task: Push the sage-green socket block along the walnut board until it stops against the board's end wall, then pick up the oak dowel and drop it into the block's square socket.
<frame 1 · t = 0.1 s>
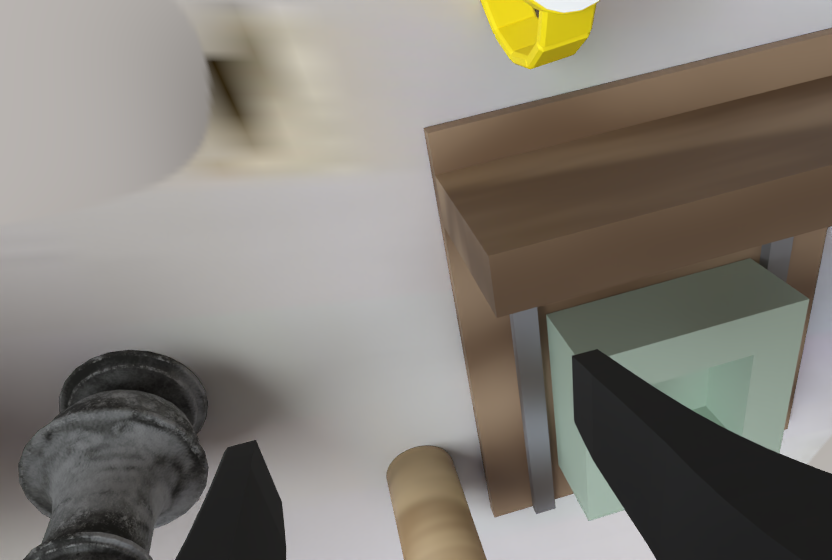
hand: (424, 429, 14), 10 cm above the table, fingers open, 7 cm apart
sage socket block: (667, 392, 26), point 2 cm above the table, slide at 0.0 cm
walnut board: (641, 307, 27), on the table
salt shaker: (136, 402, 24), on the table
oak dowel: (420, 471, 29), on the table
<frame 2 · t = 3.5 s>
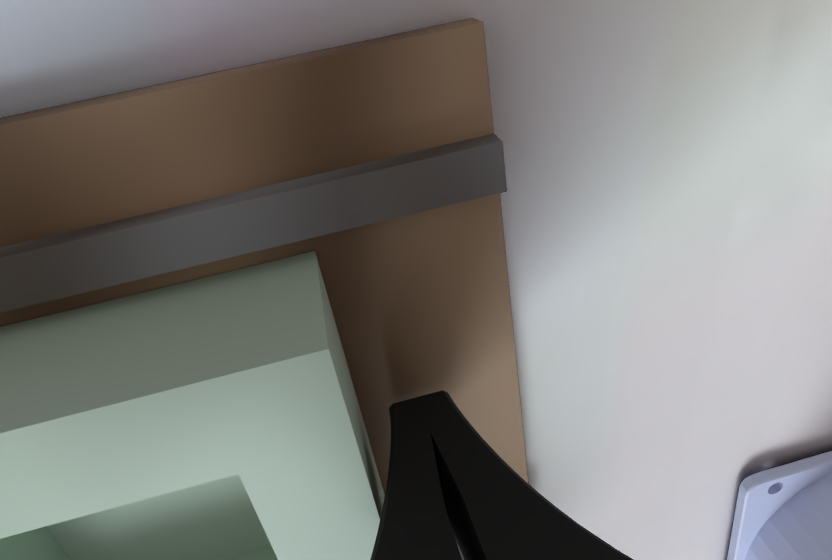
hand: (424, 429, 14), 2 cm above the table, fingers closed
sage socket block: (158, 528, 13), point 2 cm above the table, slide at 1.4 cm, touching gripper
walnut board: (103, 466, 14), on the table
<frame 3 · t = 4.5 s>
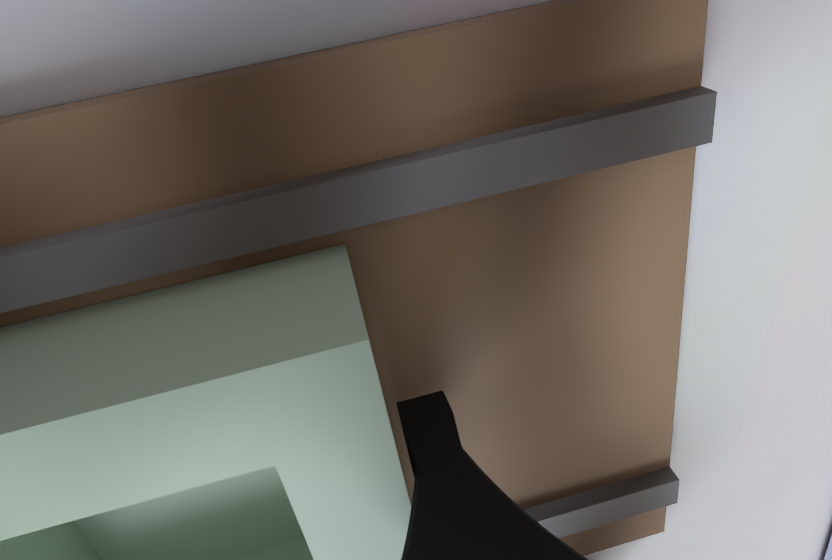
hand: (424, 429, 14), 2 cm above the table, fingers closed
sage socket block: (187, 521, 13), point 2 cm above the table, slide at 5.0 cm, touching gripper, walnut board
walnut board: (281, 419, 15), on the table
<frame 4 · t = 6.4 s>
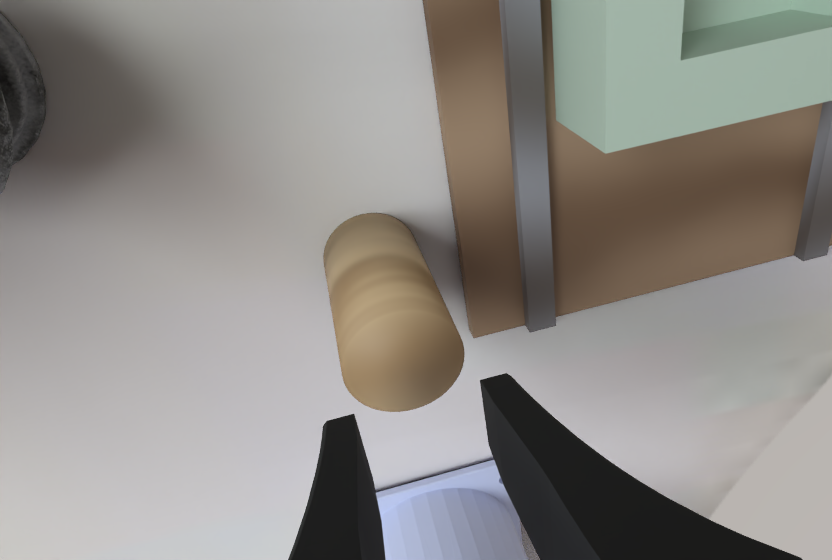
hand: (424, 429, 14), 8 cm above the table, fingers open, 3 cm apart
walnut board: (683, 2, 19), on the table
oak dowel: (371, 256, 21), on the table
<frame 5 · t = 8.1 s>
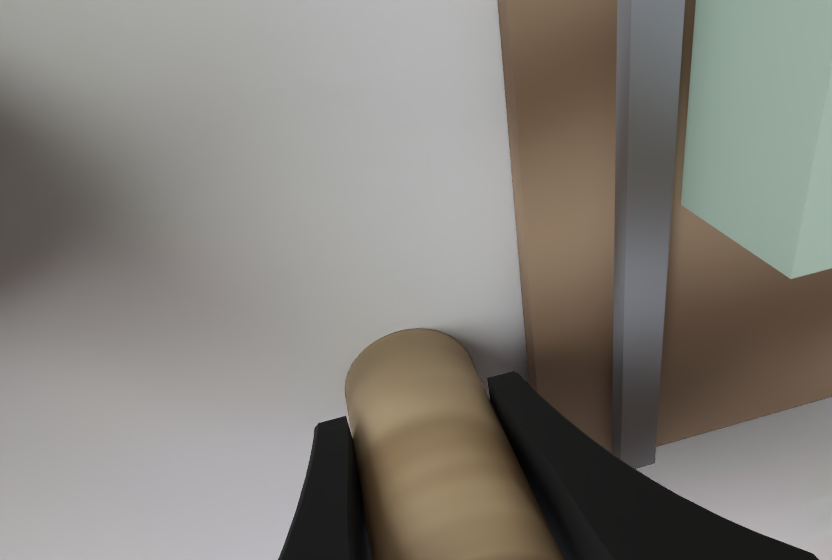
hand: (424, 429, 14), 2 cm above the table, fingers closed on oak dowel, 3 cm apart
oak dowel: (410, 383, 15), on the table, touching gripper
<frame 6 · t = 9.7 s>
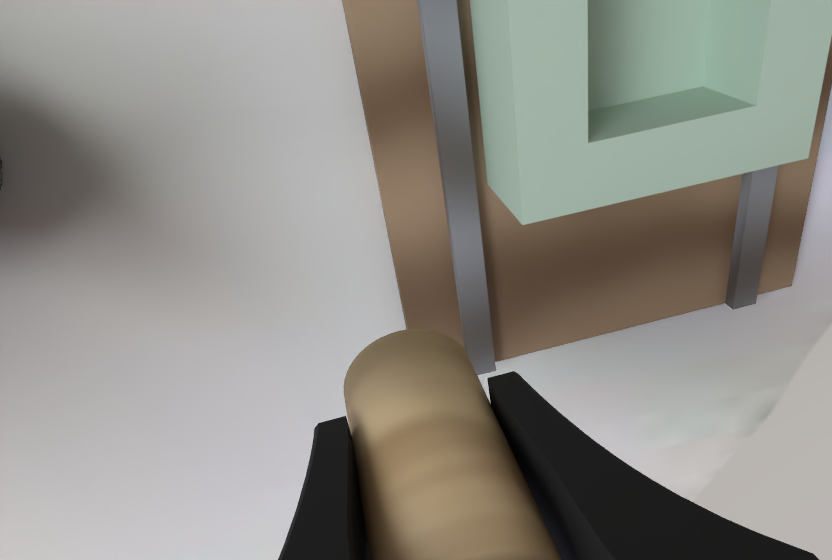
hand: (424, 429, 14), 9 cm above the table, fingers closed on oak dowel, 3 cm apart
sage socket block: (646, 20, 17), point 2 cm above the table, slide at 5.0 cm, touching walnut board
walnut board: (606, 76, 20), on the table
oak dowel: (409, 383, 15), point 7 cm above the table, touching gripper
when the fingers open (4 cm above the table, at t = 11.5 s): oak dowel drops 1 cm, resting on sage socket block.
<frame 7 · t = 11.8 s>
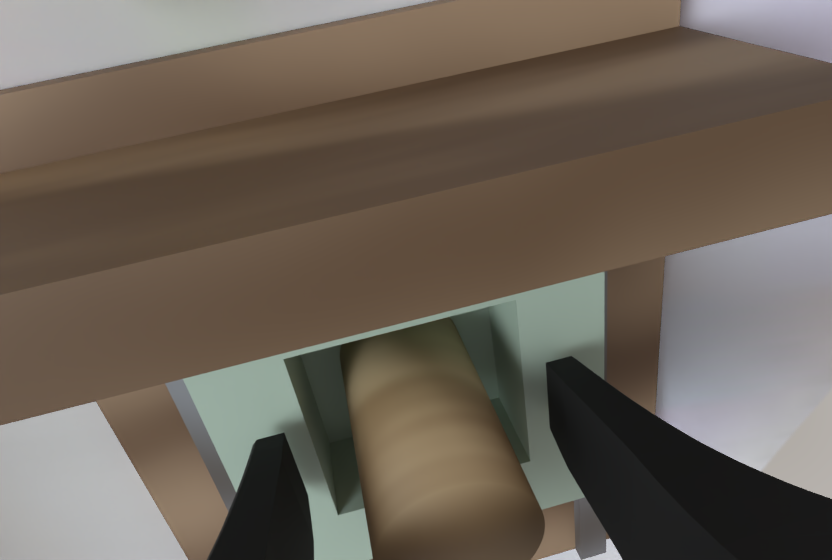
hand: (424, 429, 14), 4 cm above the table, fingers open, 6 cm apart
sage socket block: (406, 371, 15), point 2 cm above the table, slide at 5.0 cm, touching oak dowel
walnut board: (403, 374, 18), on the table
oak dowel: (400, 351, 16), point 1 cm above the table, touching sage socket block
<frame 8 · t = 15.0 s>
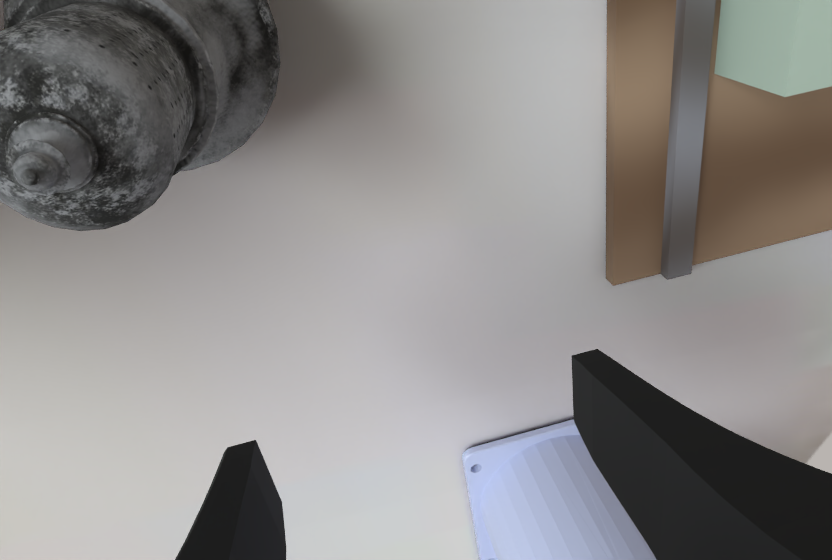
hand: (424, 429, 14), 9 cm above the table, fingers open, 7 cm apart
salt shaker: (171, 27, 17), on the table
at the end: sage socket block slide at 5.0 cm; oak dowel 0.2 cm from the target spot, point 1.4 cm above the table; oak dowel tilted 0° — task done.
